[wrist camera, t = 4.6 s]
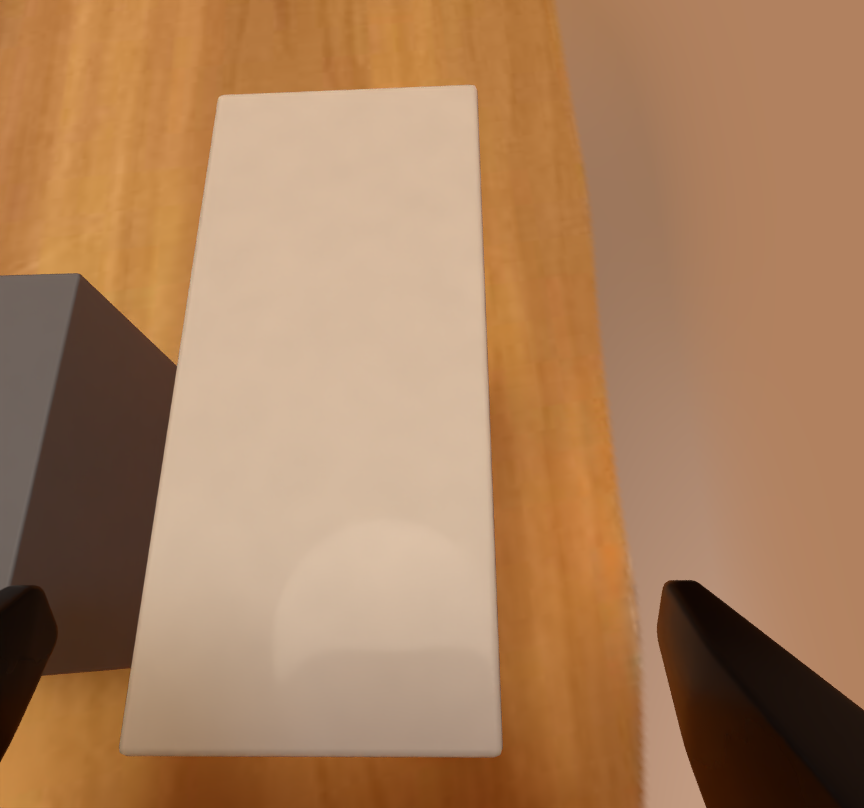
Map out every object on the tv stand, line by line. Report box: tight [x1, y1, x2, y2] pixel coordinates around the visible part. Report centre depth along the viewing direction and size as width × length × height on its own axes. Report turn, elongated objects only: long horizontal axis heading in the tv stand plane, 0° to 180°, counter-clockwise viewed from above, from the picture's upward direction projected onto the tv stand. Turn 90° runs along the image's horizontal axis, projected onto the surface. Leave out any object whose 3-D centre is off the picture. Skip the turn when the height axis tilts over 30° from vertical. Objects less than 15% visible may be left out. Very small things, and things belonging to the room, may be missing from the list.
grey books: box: [0, 273, 177, 676], centre depth 16 cm, size 6×8×8 cm
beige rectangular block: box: [119, 85, 503, 758], centre depth 14 cm, size 4×9×12 cm, turn 0°
